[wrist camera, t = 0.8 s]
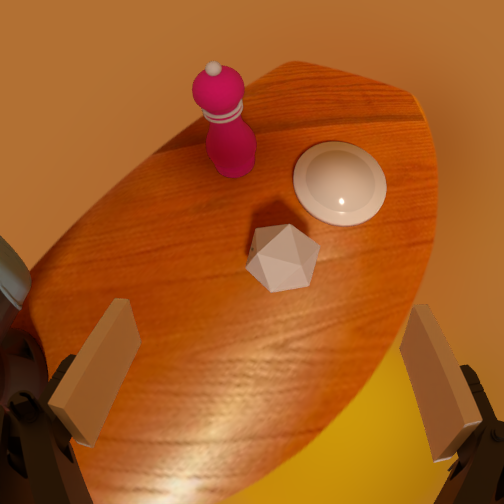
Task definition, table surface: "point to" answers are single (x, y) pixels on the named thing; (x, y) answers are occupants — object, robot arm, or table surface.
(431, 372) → the robot arm
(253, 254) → the die
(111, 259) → the table surface
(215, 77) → the pepper mill
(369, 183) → the plate
